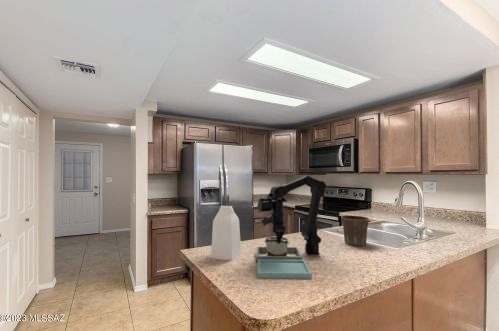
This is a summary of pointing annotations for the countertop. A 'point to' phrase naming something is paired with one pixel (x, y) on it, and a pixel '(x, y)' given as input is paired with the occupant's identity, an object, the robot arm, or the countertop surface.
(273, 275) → the tray
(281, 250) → the food container
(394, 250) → the countertop surface
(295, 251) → the grey rectangular frame
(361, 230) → the plant pot
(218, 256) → the milk
